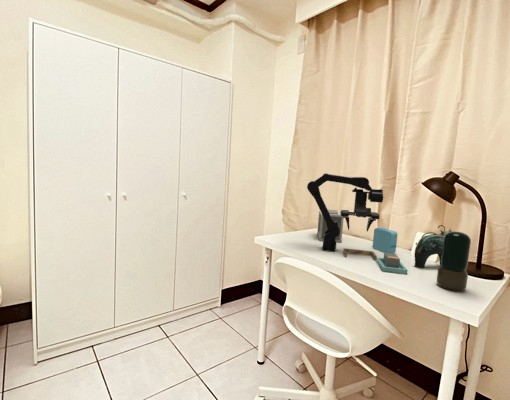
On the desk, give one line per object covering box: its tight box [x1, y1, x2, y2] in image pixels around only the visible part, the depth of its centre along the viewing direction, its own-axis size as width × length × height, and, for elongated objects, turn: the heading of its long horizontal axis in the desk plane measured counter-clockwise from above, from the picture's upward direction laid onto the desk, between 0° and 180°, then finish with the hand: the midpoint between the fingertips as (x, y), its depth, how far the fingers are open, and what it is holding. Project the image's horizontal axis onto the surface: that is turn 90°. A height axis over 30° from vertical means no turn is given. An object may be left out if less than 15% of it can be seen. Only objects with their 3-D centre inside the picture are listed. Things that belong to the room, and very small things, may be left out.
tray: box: [375, 256, 408, 275], centre depth 129 cm, size 10×14×2 cm
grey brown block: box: [383, 252, 401, 268], centre depth 129 cm, size 5×9×5 cm, turn 164°
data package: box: [372, 227, 398, 254], centre depth 156 cm, size 12×4×12 cm, turn 24°
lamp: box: [436, 230, 472, 292], centre depth 109 cm, size 10×10×22 cm
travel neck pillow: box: [414, 224, 453, 269], centre depth 133 cm, size 20×6×20 cm, turn 102°
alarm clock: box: [316, 209, 345, 244], centre depth 177 cm, size 18×13×18 cm
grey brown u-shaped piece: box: [342, 247, 378, 261], centre depth 144 cm, size 15×9×2 cm, turn 77°
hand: (357, 230), depth 149 cm, fingers open, 9 cm apart
